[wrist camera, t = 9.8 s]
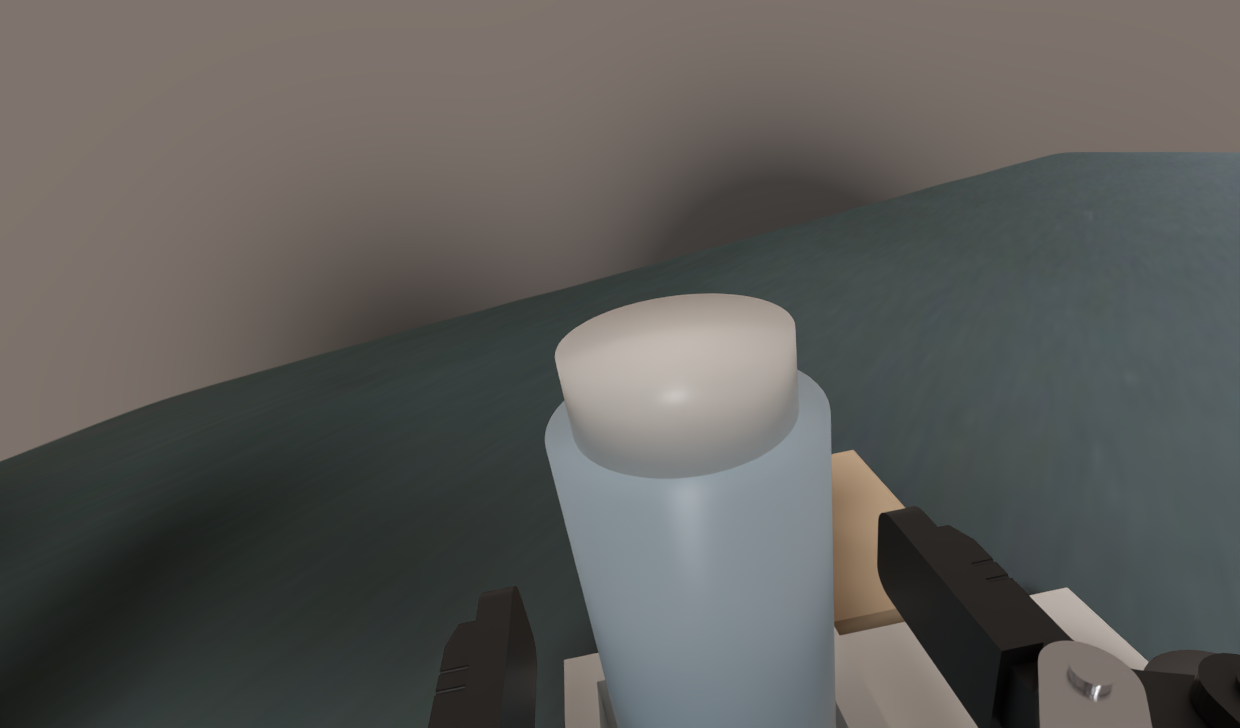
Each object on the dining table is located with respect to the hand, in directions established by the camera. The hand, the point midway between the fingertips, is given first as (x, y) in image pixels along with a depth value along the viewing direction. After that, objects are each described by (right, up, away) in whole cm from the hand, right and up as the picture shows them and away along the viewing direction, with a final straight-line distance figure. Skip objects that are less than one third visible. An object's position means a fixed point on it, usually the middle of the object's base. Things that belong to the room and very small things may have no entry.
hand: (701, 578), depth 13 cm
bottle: (+1, -8, +3) cm, 9 cm away
